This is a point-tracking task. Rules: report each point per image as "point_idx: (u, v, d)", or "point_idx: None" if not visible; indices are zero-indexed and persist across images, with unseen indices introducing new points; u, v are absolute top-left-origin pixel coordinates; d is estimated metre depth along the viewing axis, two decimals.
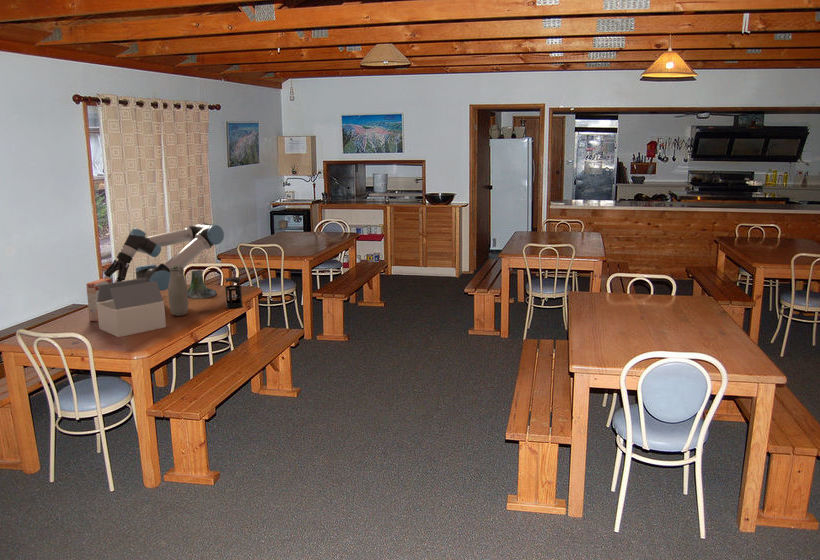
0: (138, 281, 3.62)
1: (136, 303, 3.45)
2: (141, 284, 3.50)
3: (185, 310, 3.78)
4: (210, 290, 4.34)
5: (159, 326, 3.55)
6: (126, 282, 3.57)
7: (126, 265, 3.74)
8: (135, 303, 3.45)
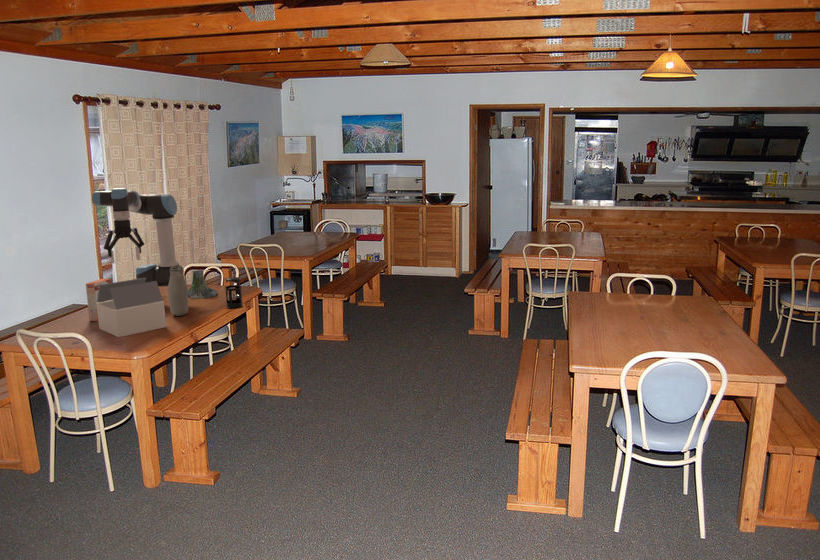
0: (138, 281, 3.62)
1: (136, 303, 3.45)
2: (141, 284, 3.50)
3: (185, 310, 3.78)
4: (211, 290, 4.34)
5: (159, 326, 3.55)
6: (126, 282, 3.57)
7: None
8: (135, 303, 3.45)
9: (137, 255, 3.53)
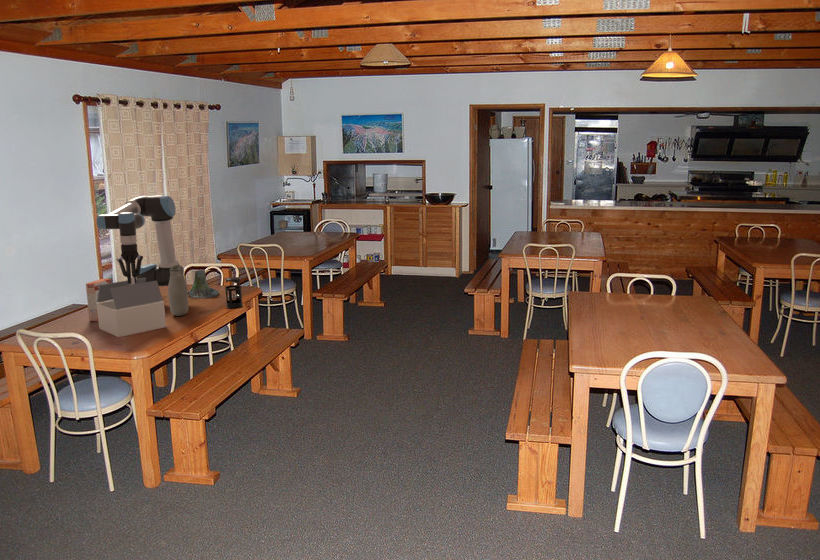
0: (138, 281, 3.62)
1: (136, 303, 3.45)
2: (141, 283, 3.50)
3: (185, 310, 3.78)
4: (213, 290, 4.34)
5: (159, 326, 3.55)
6: (126, 282, 3.57)
7: None
8: (135, 303, 3.44)
9: (132, 284, 3.48)
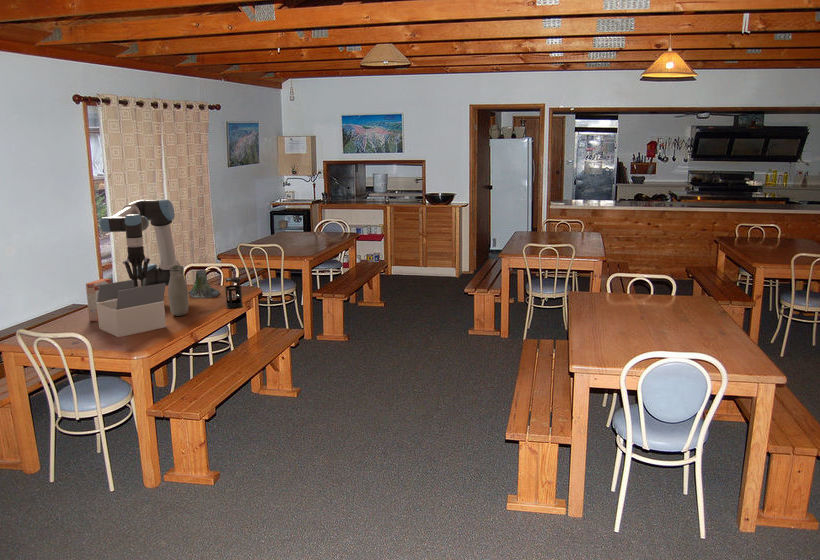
0: None
1: (137, 304, 3.44)
2: (149, 286, 3.44)
3: (185, 310, 3.78)
4: (214, 290, 4.34)
5: (159, 326, 3.55)
6: (126, 282, 3.57)
7: None
8: (136, 304, 3.44)
9: None
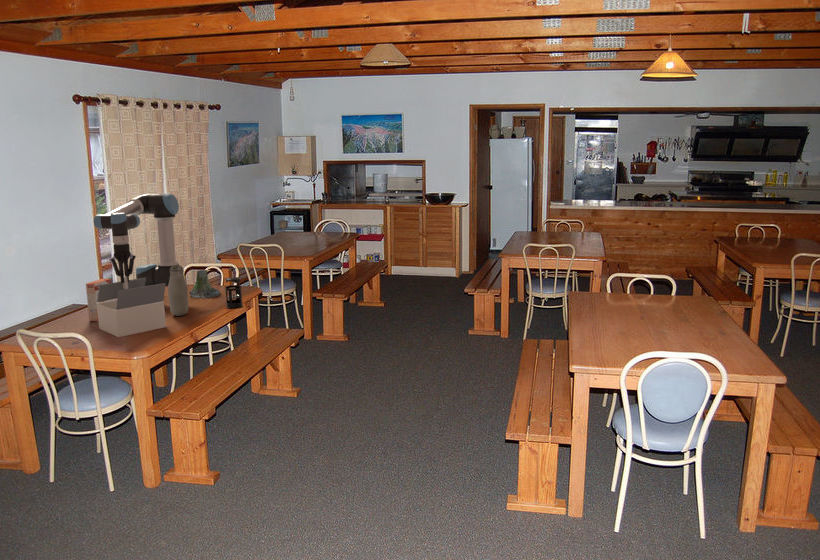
0: (138, 281, 3.62)
1: (137, 304, 3.44)
2: (149, 286, 3.44)
3: (185, 310, 3.78)
4: (215, 290, 4.34)
5: (159, 326, 3.55)
6: None
7: None
8: (136, 304, 3.44)
9: None
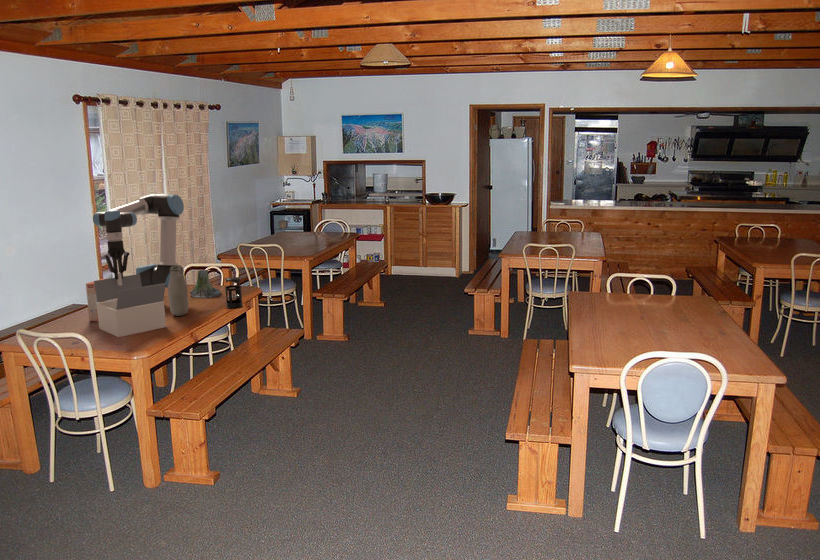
0: (133, 277, 3.66)
1: (137, 304, 3.44)
2: (149, 286, 3.44)
3: (185, 310, 3.78)
4: (216, 290, 4.33)
5: (159, 326, 3.55)
6: None
7: None
8: (136, 304, 3.44)
9: None
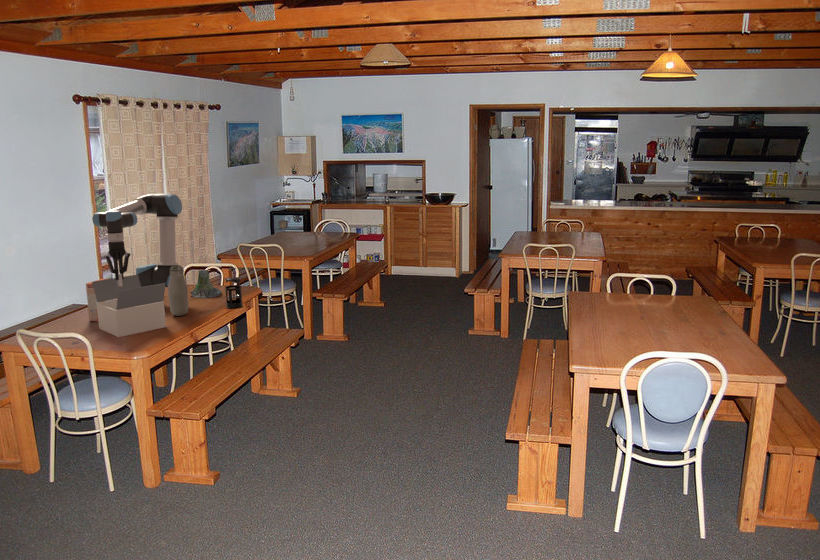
0: (131, 277, 3.68)
1: (137, 304, 3.44)
2: (149, 286, 3.44)
3: (185, 310, 3.78)
4: (216, 290, 4.33)
5: (159, 326, 3.55)
6: None
7: None
8: (136, 304, 3.44)
9: None
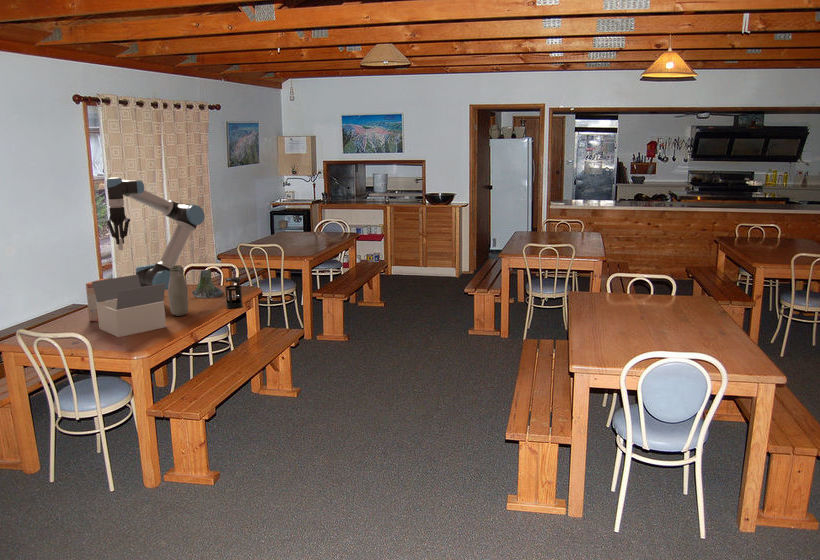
0: (131, 277, 3.68)
1: (137, 304, 3.44)
2: (149, 286, 3.44)
3: (185, 310, 3.78)
4: (218, 290, 4.33)
5: (159, 326, 3.55)
6: (119, 278, 3.63)
7: None
8: (136, 304, 3.44)
9: None
